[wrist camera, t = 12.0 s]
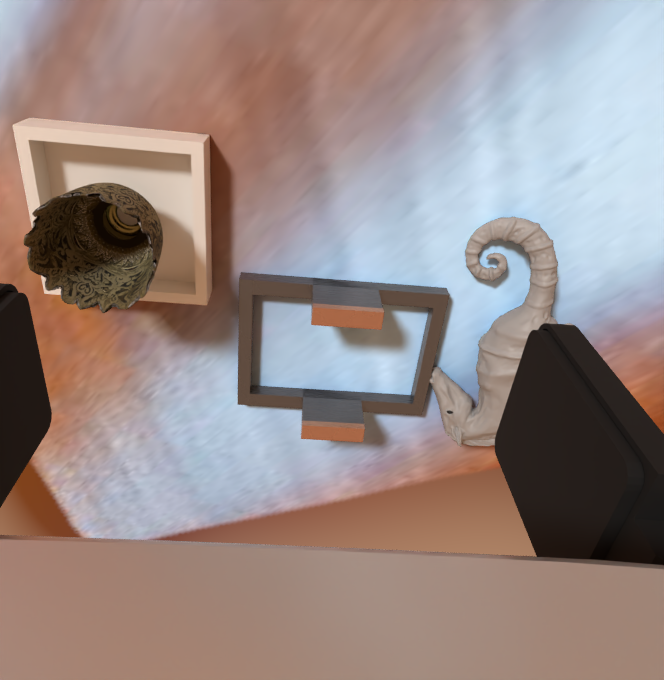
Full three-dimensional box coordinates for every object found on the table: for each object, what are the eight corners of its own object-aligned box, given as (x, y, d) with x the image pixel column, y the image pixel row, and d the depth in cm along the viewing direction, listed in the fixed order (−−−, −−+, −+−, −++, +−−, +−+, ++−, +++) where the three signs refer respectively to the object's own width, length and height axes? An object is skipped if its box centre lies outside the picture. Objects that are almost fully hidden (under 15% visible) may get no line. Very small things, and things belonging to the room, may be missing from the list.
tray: (209, 134, 37) (203, 142, 35) (212, 290, 43) (207, 305, 41) (30, 117, 36) (12, 124, 34) (58, 278, 42) (44, 293, 40)
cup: (156, 279, 42) (125, 333, 35) (60, 230, 40) (7, 277, 33) (199, 197, 39) (174, 238, 32) (97, 138, 37) (47, 169, 30)
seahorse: (409, 231, 40) (429, 460, 48) (584, 221, 36) (574, 472, 44) (423, 215, 45) (438, 427, 52) (580, 204, 40) (572, 436, 48)
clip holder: (446, 287, 44) (461, 318, 39) (419, 407, 50) (429, 445, 45) (241, 271, 42) (233, 301, 38) (239, 396, 49) (232, 434, 44)
